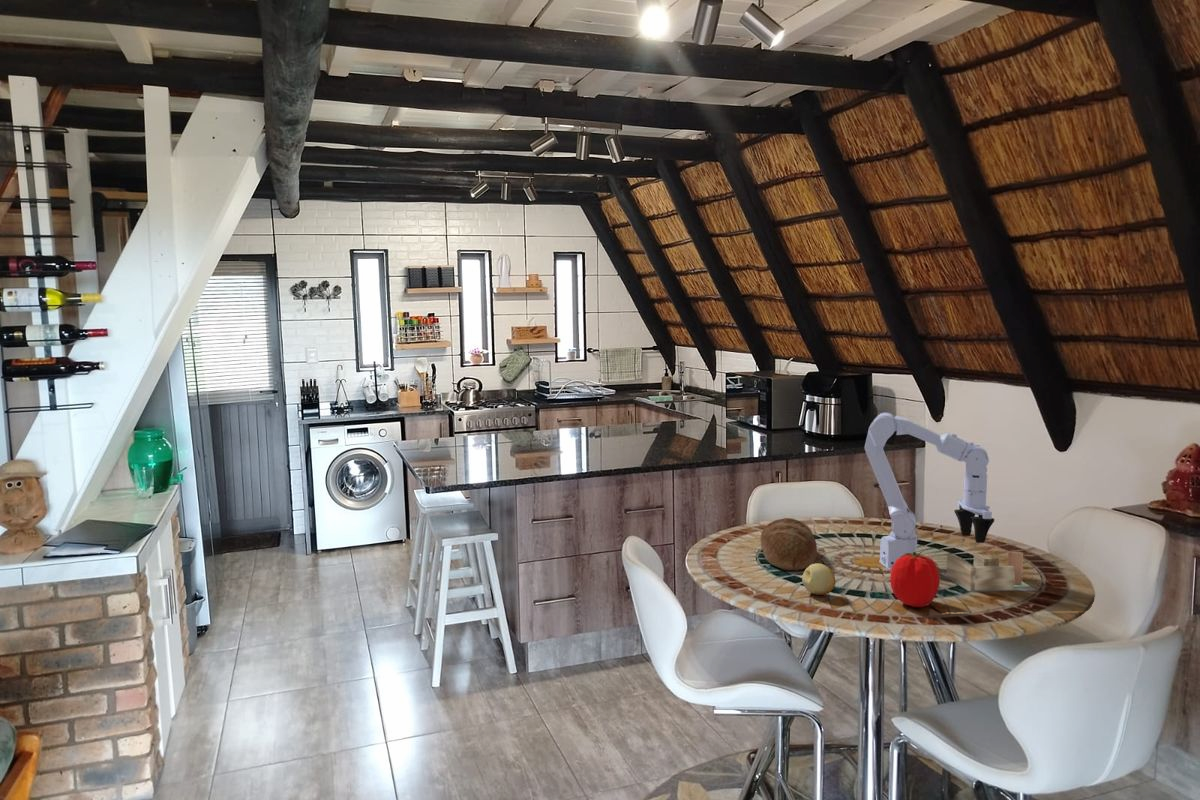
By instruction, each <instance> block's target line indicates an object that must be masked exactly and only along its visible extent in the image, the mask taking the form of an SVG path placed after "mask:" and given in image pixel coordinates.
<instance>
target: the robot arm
mask: <svg viewBox="0 0 1200 800" xmlns="http://www.w3.org/2000/svg"><path fill="white" fill-rule="evenodd" d="M895 432H896V436H901V435H910V436H912V437H915V438H917V439H919V440H922V441H924V442H927V443H929V444H932V445H934V446H935V447H936V450H937V452H938V453H940V454H943V455H945V456H947V457H949V458H952V459H954V460H955V461H958V462H964V463H965V472H964V473H963V491H962V492H963V494H962V495H963V497H962V498H963V499H962V500H957V508H958V509H954V513H955V515H956V518H957V520H958V524H959V527H960V533H961V536H967V537H968V536H971V534H972V529H973V530H974V540H975V543H977V544H985V541H986V538H987V535H988V533H989V531H990V528H991V526H993V524H994V522H995V518H993V517H992V516H993V515H992V511H990V510H991V509H990V506H989V505H987V488H988V487H987V486H988V474H987V472H988V468H987V466H988V464H989V462H990V459H989V456H988V451H987V450H986V449H985V448H983V447H982V446H981V445H980V444H975V442H973V441H966V440H964V439H963V438H960V437H958V434H956V433H954V432H952V433H949V432H946V433H944V434H939V433H937V432H935V431H933V430H932V429H931V430H930V429H929V428H926V426H925V427H924V426H922V425H920V424H918V423H916V422H914V421H912V420H910V419H908V418H904V417H902V416H899V415H894V414H892V413H891V412H881V413H879V414H878V415H877V416H876V417H875V418H874V419H873V420H872V422H871V423H870V425H869V427H868V431H867V435H866V439H865V444H864V451H865V453H866V457H867V458H868V460H869V463H870V466H871V468H872V471H873V473H874V475H875V478H876V480H877V483H878V486H879V487H880V490H881V493H882V495H883V498H884V501H885V502H886V503H885V504H886V505H887V508H888V513H889V516H890V519H891V526H890V528H891V531H890V532H889V535H887V536H885V535H883V536H882V537H881V538H880V543H879V545H880V546H879V561H878V563H879V564H881V565H883V566H884V567H885V568H887V569H888V570H891V569H892V567H893V564H894V563H895V562H896V560H897V559H898V558H900V556H903V555H904V554H907V553H913V552H916V554H918V553H917V552H918V550H917V549H918V534H917V533H915V532H916V525H917V522H918V520H917V517H916V514H915V513H914V512H913V511H912V510H910V508H909V507H908V504H907V502H906V501H905V499H904V496H903V494H902V492H901V490H900V489H901V488H900V487H899V483H898V482H897V480H896V477H895V474H894V472H893V470H892V467H891V464H890V463H889V461H888V457H887V455H886V453H885V450H884V447H885V445H886V443H887V441H888V440H889V439H890V438H891V437H892V436H893V435H894V433H895ZM976 515H977V516H976Z"/></svg>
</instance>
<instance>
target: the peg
mask: <svg viewBox="0 0 1200 800" xmlns="http://www.w3.org/2000/svg"><path fill="white" fill-rule="evenodd" d="M1023 562H1024V552H1021V551H1013V550H1012V551H1011V550H1010V551H1008V552H1007V566H1014V567H1015V582H1014V585H1021V584H1022V582H1023V567H1024V566H1023V565H1024V563H1023Z"/></svg>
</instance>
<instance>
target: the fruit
mask: <svg viewBox="0 0 1200 800" xmlns="http://www.w3.org/2000/svg"><path fill="white" fill-rule="evenodd" d="M801 581H802V584H803V586H804V588H805V589H806V591H808V592H809V593H811V594H814V595H816V596H821V595H827V594H830V592H832V591H833V589H834V588H835V587H836V577H835V574H834V572H833V570H832V569H831V568H830V567H828V566H827V565H825V564H823V563H818V562H817V563H816V562H815V563H813V564H812V565H810V566H809V567H807V568H805V570H804V571H803V574H802V576H801Z"/></svg>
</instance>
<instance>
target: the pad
mask: <svg viewBox="0 0 1200 800" xmlns="http://www.w3.org/2000/svg"><path fill="white" fill-rule="evenodd" d="M1029 586H1030V585H1029V584H1027V583H1025V582H1024V581H1022V584H1021V585H1014V587H1029Z"/></svg>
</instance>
